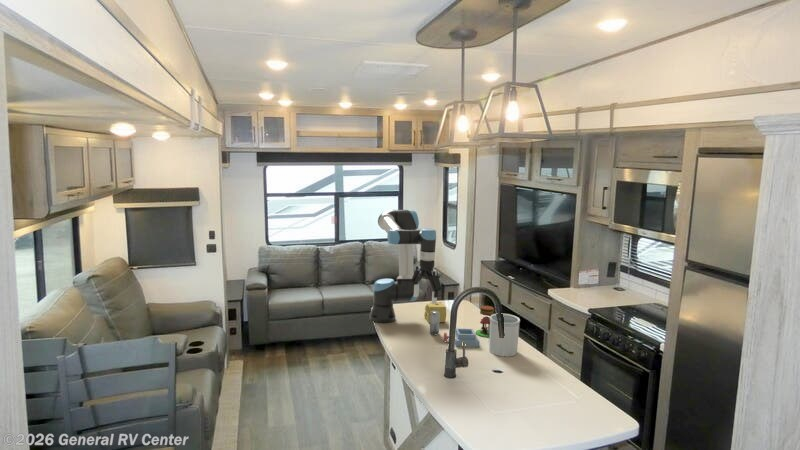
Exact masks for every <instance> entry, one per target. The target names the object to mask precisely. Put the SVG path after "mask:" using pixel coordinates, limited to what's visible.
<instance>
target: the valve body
mask: <svg viewBox="0 0 800 450" xmlns="http://www.w3.org/2000/svg"><path fill="white" fill-rule="evenodd" d="M455 331H456V339H455V344H454V345H455V347H459V346H462V342H463V341H464V342H465V344H466V346H471V347H470V348H479V347H480V340H479V338H478V336H477V334H476V332H475V330H474V329H473V328H458V327H457V328H455ZM449 336H450V335H448V334H447V332H443V342H444V341H446V342H445V343H447V341H448V340H449V339H448V338H449Z"/></svg>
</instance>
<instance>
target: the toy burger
mask: <svg viewBox="0 0 800 450" xmlns="http://www.w3.org/2000/svg"><path fill="white" fill-rule="evenodd" d="M494 311H495V308H494V307H493V306H491V305H481V306H480V310H479V312H480V315H483V317H482V318H481V319H480V322H479V323H480V324H481V325H482V326H481V327H480V329H477V330H476V331H475V334H476V336H477V335H478V336H479V337H484V338H490V316H491V315H493V314H495V312H494Z"/></svg>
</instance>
